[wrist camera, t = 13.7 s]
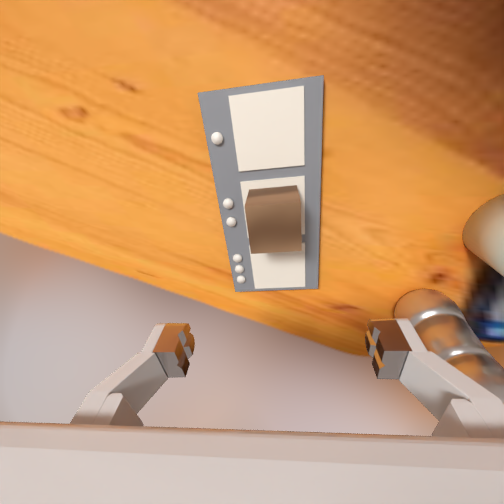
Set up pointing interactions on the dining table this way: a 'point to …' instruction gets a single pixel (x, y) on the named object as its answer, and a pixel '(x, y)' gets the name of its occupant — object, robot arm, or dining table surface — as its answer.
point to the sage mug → (487, 233)
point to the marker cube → (274, 219)
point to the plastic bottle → (451, 337)
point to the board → (267, 172)
